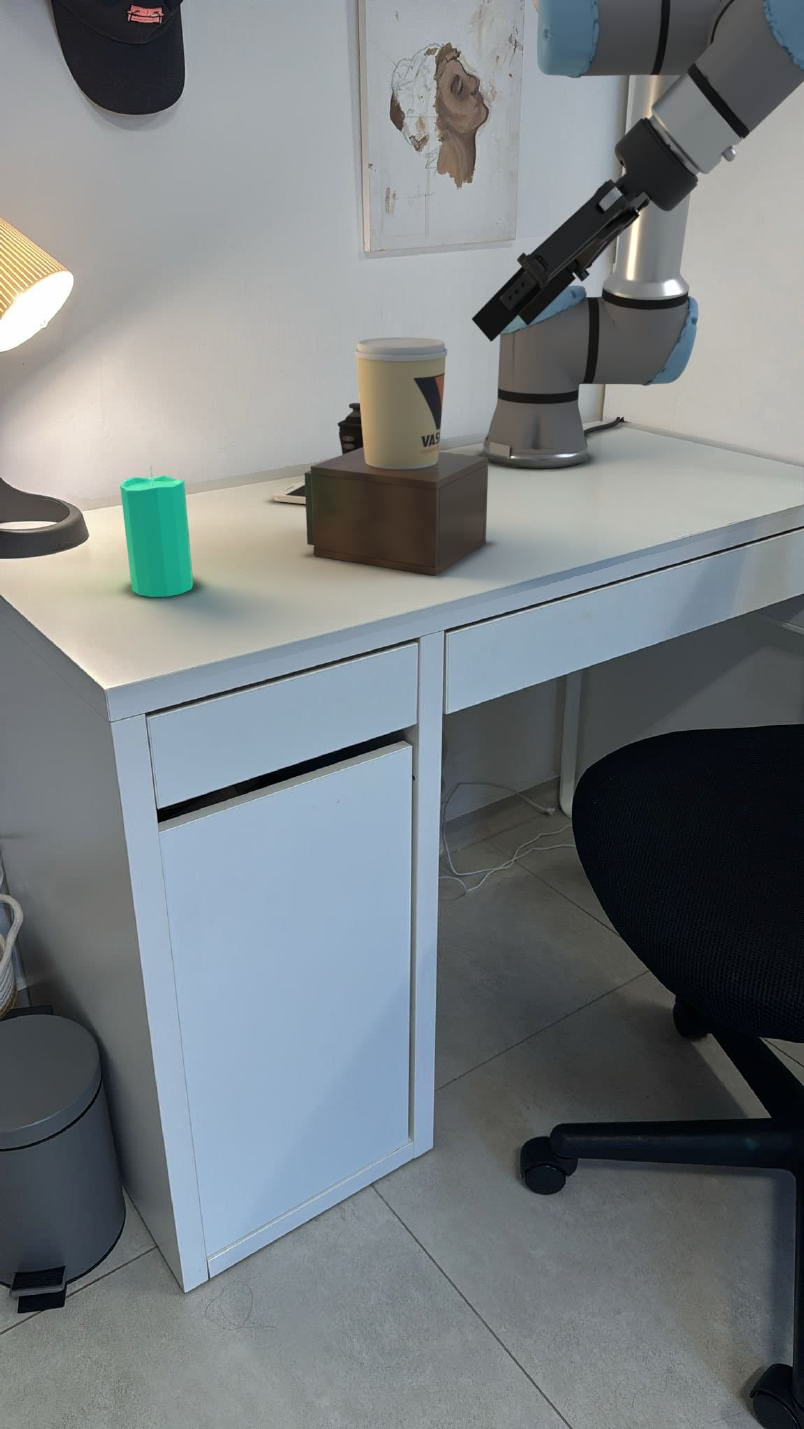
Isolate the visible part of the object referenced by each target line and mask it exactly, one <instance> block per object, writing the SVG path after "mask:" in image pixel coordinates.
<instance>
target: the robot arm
mask: <svg viewBox="0 0 804 1429" xmlns="http://www.w3.org/2000/svg"><path fill="white" fill-rule="evenodd" d="M532 2H533V5H534V8H535V11H536V12H537V15H538V17H537V32H536V34H537V35H536V36H537V37H536V54H537V55H536V56H537V61H536V62H537V67H538V69H539V70H540V72H541V73H543V74H544V75H547V76H559V77H560V76H561V77H567V78H571V79H580V78H582V77H605V76H606V77H608V76H609V77H611V76H612V77H613V76H634V87H633V97H632V105H631V106H632V107H631V115H630V124H629V125H630V126H629V130H628V131H627V132H626V134H624V135H623V137H622V138H620V140H619V141H617V143H616V145H615V146H614V155H615V157H616V158H617V161H618V162H619V164H620V165H621V166H622V167H623V168H624V171H625V172H624V173H623V175H622V176H621V177H619V178H618V179H617V180H616V181H615V182H614V181H613V180H612V178H610V179H609V180H605V181H604V182H603V183H602V185H600V186H599V187H598V188H597V189H596V190H595V192H594V193H593V195H592V196H591V197H590V198H589V199H587V201H586V202H585V203H583V204H582V205H581V206H580V207H579V208H578V209H577V210H576V211H575V212H574V213H573V214H572V215H570V217H569V218H568V219H566V221H564V222H563V223H562V224H561V225H560V226H559V227H557V229H556V230H554V231H553V232H552V233H551V235H549V236H548V237H547V238H546V239H545V240H544V241H542V242H541V243H540V245H539V246H537V247H536V248H535V249H534V250H533V251H532V252H530V253H528V254H526V253H525V252H522V253H521V254H520V255H519V256H518V257H517V258H516V261H517V263H518V264H519V265H520V266H521V267H520V268H519V269H518V270H517V271H516V272H515V273H514V274H513V275H512V276H511V277H510V278H509V279H508V280H507V281H506V282H505V283H504V284H503V286H501V288H500V289H499V290H498V291H497V292H495V294H494V295H492V297H491V298H490V299H489V300H488V301H487V302H486V303H485V304H484V305H483V306H482V307H481V308H480V309H479V311H477V313H475V315H474V316H472V317H471V321H473V323H474V324H475V325H476V326H477V327H478V329H479V330H480V331H481V332H482V333H483V335H485V337H486V338H487V339H488V341H490V342H493V341H494V340H495V339H496V338H497V337H498V336H499V352H498V372H497V373H498V375H497V398H496V405H495V409H494V412H493V414H492V418H491V420H490V424H489V428H488V432H487V435H486V436H485V438H484V441H483V444H482V445H483V446H482V457H488V462H491V463H495V464H497V465H502V466H507V467H515V468H527V469H528V468H529V469H551V468H563V467H564V468H565V467H570V466H576V465H579V464H581V463H584V462H585V461H587V459H588V451H589V444H588V440H587V438H586V437H585V436H588V435H589V434H592V433H594V432H599V431H603V430H607V429H611V428H614V427H617V426H618V425H619V424H620V423H625V418H624V416H623V417H622V418H621V419H620V417H617V416H616V418H615V419H614V420H613V421H611V422H608V423H603V424H600V425H595V426H591V427H589V428H586V429H584V427H583V426H584V425H583V420H582V415H581V412H580V407H579V396H580V394H579V393H580V385H635V386H636V385H638V386H639V385H640V386H644V387H647V386H651V385H663V384H667V385H668V384H671V383H674V382H675V381H677V380H678V379H680V378H681V375H682V374H683V373H684V372H685V370H686V368H687V366H688V363H689V361H690V359H691V355H692V352H693V349H694V345H695V340H696V335H697V330H698V327H697V323H698V319H699V305H698V302H697V300H696V299H695V298H694V297H692V296H691V295H689V293H690V292H689V291H690V285H689V283H688V282H687V281H686V279H685V278H684V277H683V276H682V274H681V265H682V259H683V252H684V245H685V237H686V229H687V224H688V223H687V222H688V216H689V215H688V214H689V207H690V199H691V192H693V190H694V189H695V188H697V187H698V182H699V178H698V176H697V175H698V174H699V173H701V174H702V175H709V174H710V173H711V172H712V171H713V170H714V169H715V168H716V167H717V166H718V165H719V164H720V163H721V162H722V159H723V158H724V159H725V161H727V162H728V163H729V162H733V161H734V160H735V158H736V156H737V155H738V154H737V151H736V149H735V148H733V147H734V146H737V145H739V144H740V143H741V142H742V141H743V140H745V139H746V138H747V137H748V136H749V135H750V134H751V133H752V132H753V131H755V129H756V128H757V127H758V126H759V125H760V124H762V122H763V121H765V119H767V117H768V116H770V115H771V114H772V113H773V112H774V111H775V110H776V109H777V108H778V107H779V106H780V105H781V104H783V102H784V101H786V99H788V97H789V96H790V95H791V94H793V92H794V91H796V89H797V88H798V87H800V86H801V85H802V84H803V83H804V0H532ZM617 238H618V243H617V252H616V253H617V254H616V262H615V268H614V271H613V272H612V273H611V274H610V275H609V276H608V277H606V278H605V279H604V280H603V283H602V288H601V289H602V290H601V296H588V295H587V294H588V293H587V292H588V291H586V287H584V286H583V285H571V284H572V283H573V282H574V281H575V280H576V279H577V278H578V279H579V281H580V282H584V281H585V280H586V279H587V278H588V277H589V276H590V275H591V273H589V271H588V269H590V268H591V267H592V266H593V264H594V263H595V261H596V260H597V259H599V257H600V256H601V255H602V254H603V253H604V252H605V250H606V249H607V248H608V247H609V246H610V245H611V244H612V243H613V242H614V241H615V240H616V239H617Z"/></svg>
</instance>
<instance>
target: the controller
mask: <svg viewBox="0 0 804 1429" xmlns="http://www.w3.org/2000/svg"><path fill="white" fill-rule="evenodd" d="M348 404H349V405H348V408H349V409H352V411H351V412H350V413H349V414H348V415H346V417H345V419H344V420H341V421H339V422H337V426H338V427H339V428H338V431H339V432H338V438H339V442H340V447H341V453H342V454H341V455H343V454H346V453H349V452H351V451H354V450H357V449H359V448H362V447H364V445H363V433H362V422H361V410H360V402H352V403H348Z"/></svg>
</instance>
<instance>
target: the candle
mask: <svg viewBox="0 0 804 1429" xmlns="http://www.w3.org/2000/svg"><path fill="white" fill-rule="evenodd" d="M152 468H153V467H152V465H149V471H150V477H138V476H131V477H130V478H127V479H125V480H122V482H121V484H120V486H119V487H120V488H119V489H120V495H121V496H120V497H121V506H122V514H123V521H124V522H123V523H124V530H125V539H126V549H127V557H128V566H129V575H130V576H129V577H130V584H131V585H130V586H131V591H132V592H133V593H135V594H136V595H138V596H143V597H149V598H162V597H163V598H166V597H172V596H177V595H182V594H184V593H186V592H188V591H190V590H192V589H193V586H194V576H193V566H192V564H193V563H192V554H191V543H190V531H189V521H188V519H189V518H188V509H187V508H188V507H187V498H186V486H185V479H176V478H173V477H170V476H168V475H165V474H164V475H163V474H162V475H158V476H153V469H152Z"/></svg>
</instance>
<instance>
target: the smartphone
mask: <svg viewBox="0 0 804 1429" xmlns="http://www.w3.org/2000/svg"><path fill="white" fill-rule="evenodd" d="M273 496H274V498H273V499H274V502H281V503H282V502H283V503H293V504H304V505H306V499H305V482H303V481H301V482H300V481H298V482H295V483H293V484H291V485H290V486H287V487H286V488H283V489H282V490H279V491H278V492H276V493H274V495H273Z"/></svg>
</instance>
